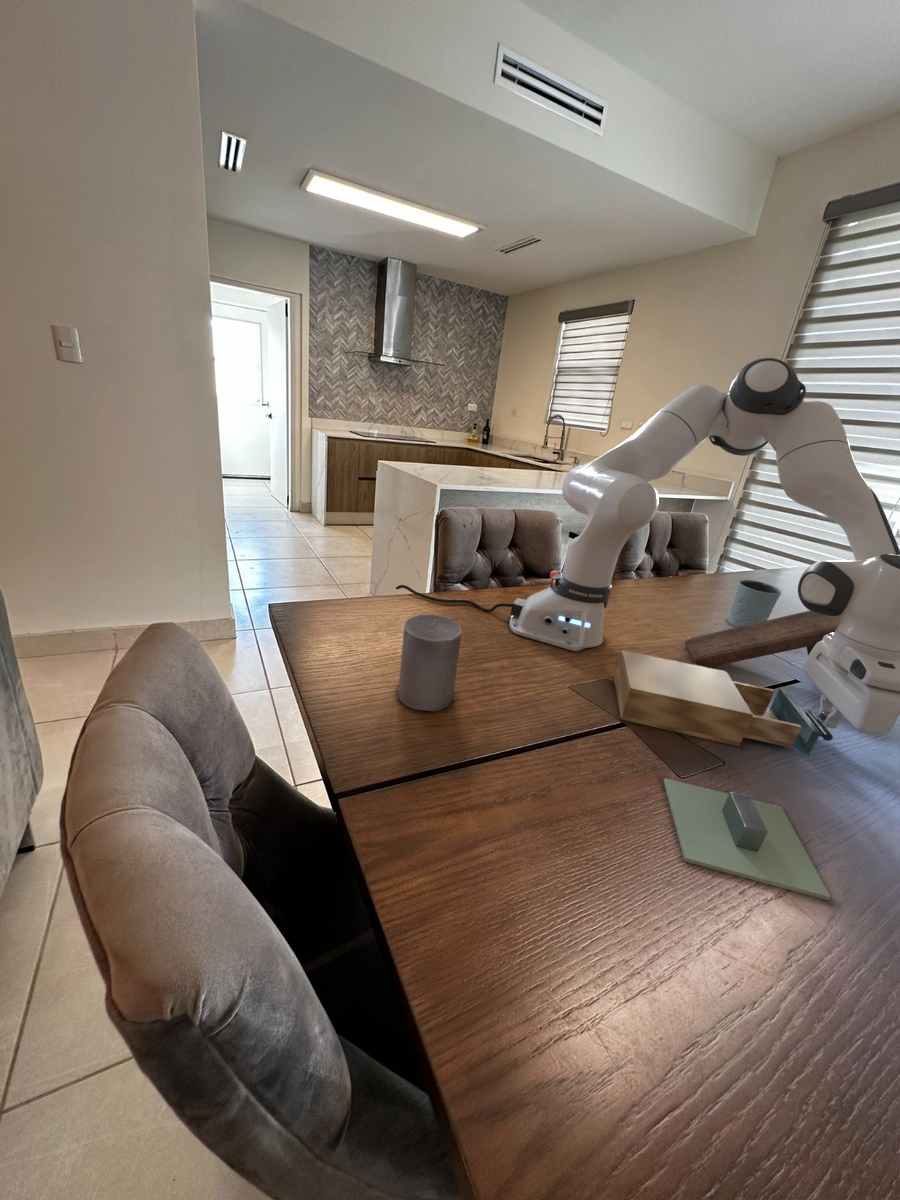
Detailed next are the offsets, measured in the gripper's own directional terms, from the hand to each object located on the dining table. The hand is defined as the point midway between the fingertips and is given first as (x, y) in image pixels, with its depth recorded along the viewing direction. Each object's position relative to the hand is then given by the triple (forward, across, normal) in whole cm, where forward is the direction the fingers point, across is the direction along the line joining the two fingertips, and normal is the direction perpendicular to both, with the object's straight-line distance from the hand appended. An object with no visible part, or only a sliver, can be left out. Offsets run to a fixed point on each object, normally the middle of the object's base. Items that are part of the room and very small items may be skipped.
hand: (825, 723), depth 82 cm
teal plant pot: (+4, -54, +5) cm, 55 cm away
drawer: (+3, 0, -12) cm, 12 cm away
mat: (+4, +28, -22) cm, 36 cm away
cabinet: (+4, 0, -25) cm, 25 cm away
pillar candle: (+4, +14, -69) cm, 70 cm away
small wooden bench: (+4, -25, -2) cm, 26 cm away
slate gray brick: (+4, +28, -22) cm, 36 cm away
